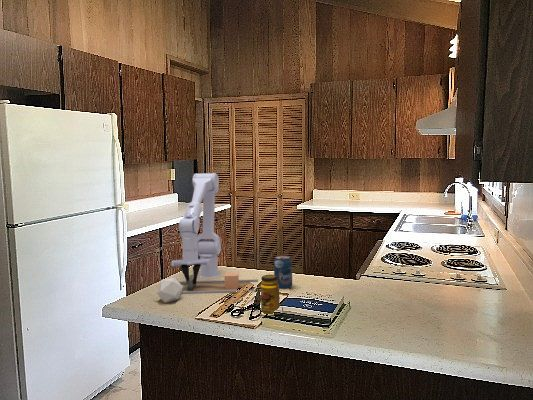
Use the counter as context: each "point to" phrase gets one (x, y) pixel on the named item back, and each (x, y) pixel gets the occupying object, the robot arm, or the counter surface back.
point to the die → (169, 290)
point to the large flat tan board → (208, 285)
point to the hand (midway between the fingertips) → (191, 283)
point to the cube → (231, 280)
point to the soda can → (283, 271)
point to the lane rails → (214, 291)
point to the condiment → (269, 294)
